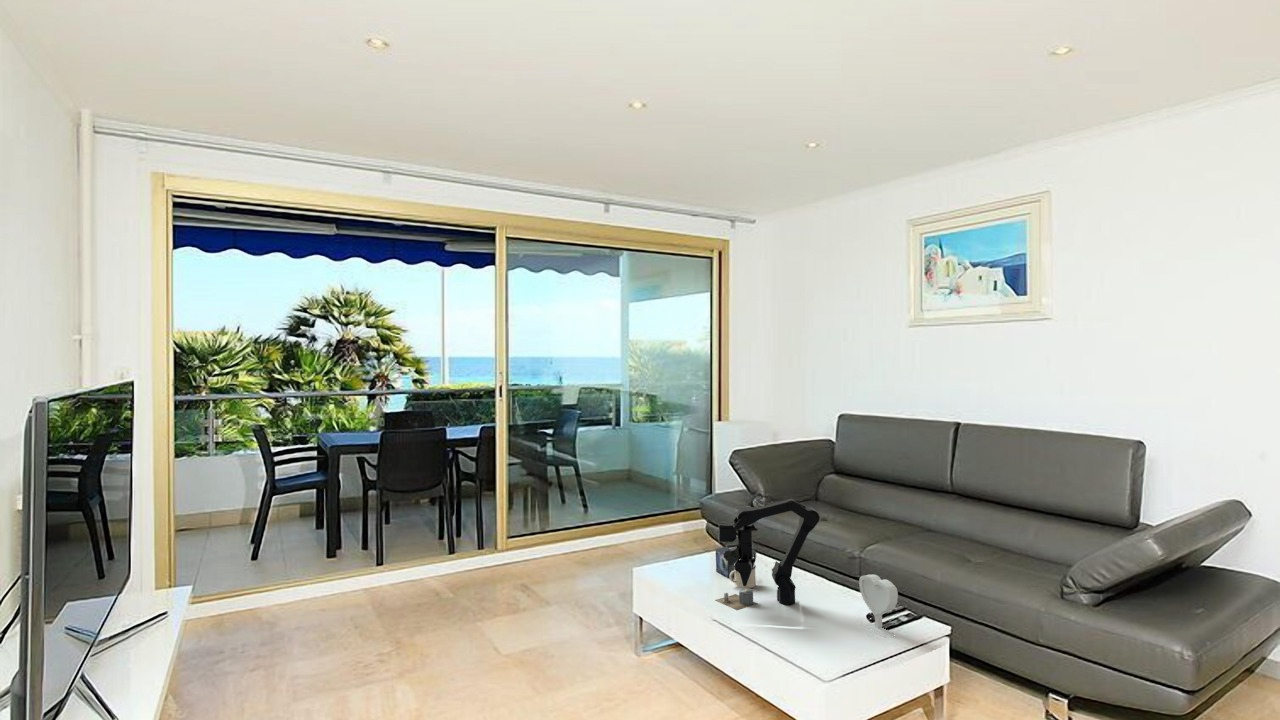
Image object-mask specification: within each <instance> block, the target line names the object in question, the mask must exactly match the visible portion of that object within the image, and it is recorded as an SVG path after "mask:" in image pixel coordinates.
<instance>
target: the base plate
mask: <svg viewBox="0 0 1280 720" xmlns="http://www.w3.org/2000/svg"><path fill="white" fill-rule="evenodd" d="M714 601H715V602H718V603H719V604H722V605H724V606H727V607H728V608H731V609H734V610H736V611H740V610H742V609H745V608H749V607H752V606H755V605H758V604H759V603H758V602H757V601H753V604H752V605H742V604H740V603H739V594H736V593H735V594H731V595H729V592H724V593H723V597H720V598H718V599H714Z"/></svg>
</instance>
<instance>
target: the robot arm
mask: <svg viewBox="0 0 1280 720" xmlns="http://www.w3.org/2000/svg"><path fill="white" fill-rule="evenodd" d="M789 512H793V513H794V514H796V515H797V516H799V519H798V527H797V529H796V531H795V533H794V535H793V537H792V539H791V541H790V543H789V546H788V547H787V550H786V552H785V554H784V555H783V558H782V560H780V561H779V562H778V561H777V560H776V561H775V562H774V566H773V567H772V568H771V572H772V573H771V577H772V579H773V582H774V583H775V584H776V586H777V589H776V598H777V600H776V601H777V602H778V603H779V604H780V605H784V606H788V607H789V606H793V605H795V604H796V585H795V583H794V581H793V580H792V574H793V572H792V571H793V566H794V564H795V562H796V560H797V557H798V556H799V553H800V552H801V550H802V547H803V546H804V543H805V542H806V539H807V538H808V535H809V534H810V533H811V532H812V531H813V530H814V528H815V527H817V525H818V523H819V522H820V514H819V512H817V510H816V509H815V508H813V506H805V505H803V504H802V503H800V502H798V501H796V500H794V499H793V498H788V499H785V500H782V501H777V502H774V503H773V502H772V503H770V504H766V505H762V506H758V507H754V506H750V507H741V508H738V510H737V512H736V516H735V518H734V519H733V520H732V522H731V523H730V524H728V523H727V524H723V523H718V531H717V537H718V543H734V541H736V540H737V545H735V546H734V547H729V548H730V549H727V550H725V551H724V552H723V554H724V558H725V560H726V561H728V560H730V559H733V558H736V559H739V560H737V561H736V563H735V565H734V567H735V570H736V571H738V572H739V573H740V576H741V579H742V583H743V586H746V585H747V582H748V579H749V577H750V574H751V571H752V568H753V566H754V564H755V563H756V558H757V551H756V550H755V549H754V542H753V539H754V538H753V532H756V531H758V528H757V526H756V525H755V524H754V523H756V522H758V521H760V520H762V519H765V518H768V517H769V518H770V517H772V516H776V515H780V514H783V513H789Z"/></svg>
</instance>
